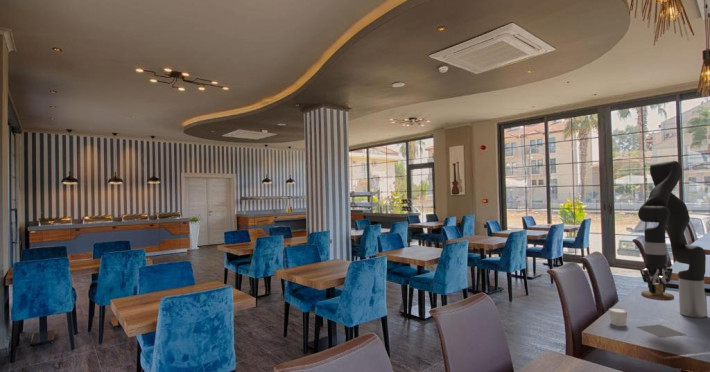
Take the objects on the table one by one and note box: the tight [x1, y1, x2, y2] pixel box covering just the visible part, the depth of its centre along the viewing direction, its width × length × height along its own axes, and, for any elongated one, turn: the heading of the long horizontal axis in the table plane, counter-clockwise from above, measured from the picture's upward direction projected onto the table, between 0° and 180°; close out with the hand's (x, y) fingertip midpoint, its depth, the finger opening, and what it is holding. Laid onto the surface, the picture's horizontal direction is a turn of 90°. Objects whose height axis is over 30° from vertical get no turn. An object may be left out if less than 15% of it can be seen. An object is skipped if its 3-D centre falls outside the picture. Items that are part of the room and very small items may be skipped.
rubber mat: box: [636, 324, 687, 339], centre depth 162 cm, size 12×12×1 cm
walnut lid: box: [641, 282, 675, 302], centre depth 163 cm, size 11×11×6 cm
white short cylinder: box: [608, 307, 628, 327], centre depth 172 cm, size 7×7×7 cm
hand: (657, 292), depth 163 cm, fingers closed on walnut lid, 4 cm apart
